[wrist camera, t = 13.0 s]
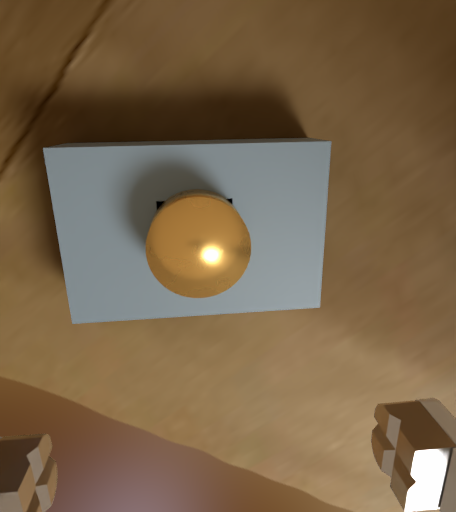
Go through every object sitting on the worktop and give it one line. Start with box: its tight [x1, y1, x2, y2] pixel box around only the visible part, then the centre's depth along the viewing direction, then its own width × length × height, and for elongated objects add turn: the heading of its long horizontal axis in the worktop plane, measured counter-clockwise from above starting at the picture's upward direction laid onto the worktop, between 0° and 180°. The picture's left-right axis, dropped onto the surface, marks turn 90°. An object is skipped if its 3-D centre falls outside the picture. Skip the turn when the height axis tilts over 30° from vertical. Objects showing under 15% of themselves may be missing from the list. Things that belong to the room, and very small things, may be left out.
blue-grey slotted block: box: [43, 138, 331, 324], centre depth 29 cm, size 12×18×5 cm, turn 91°
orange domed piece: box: [145, 189, 251, 298], centre depth 27 cm, size 6×6×8 cm
